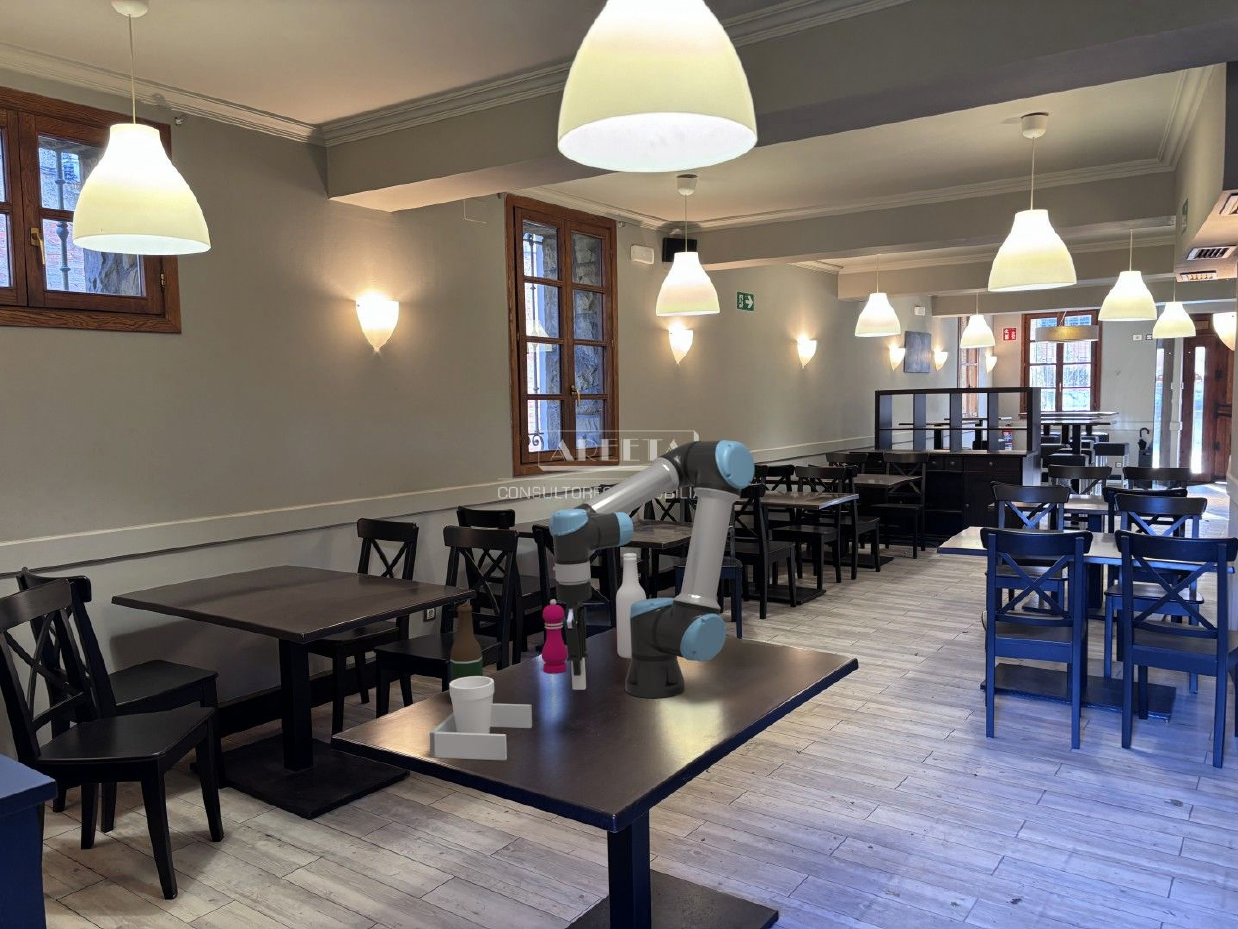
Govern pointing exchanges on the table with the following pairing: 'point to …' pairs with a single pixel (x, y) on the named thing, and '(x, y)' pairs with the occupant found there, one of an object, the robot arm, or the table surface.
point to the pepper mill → (554, 639)
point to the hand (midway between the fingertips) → (579, 688)
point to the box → (479, 735)
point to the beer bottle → (465, 648)
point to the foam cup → (472, 703)
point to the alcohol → (627, 603)
